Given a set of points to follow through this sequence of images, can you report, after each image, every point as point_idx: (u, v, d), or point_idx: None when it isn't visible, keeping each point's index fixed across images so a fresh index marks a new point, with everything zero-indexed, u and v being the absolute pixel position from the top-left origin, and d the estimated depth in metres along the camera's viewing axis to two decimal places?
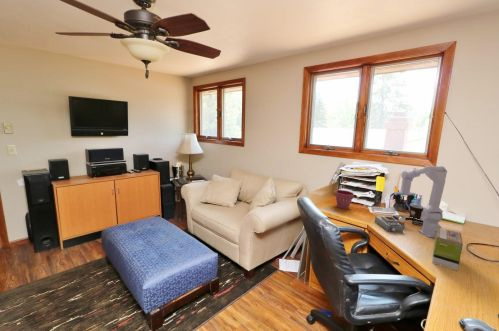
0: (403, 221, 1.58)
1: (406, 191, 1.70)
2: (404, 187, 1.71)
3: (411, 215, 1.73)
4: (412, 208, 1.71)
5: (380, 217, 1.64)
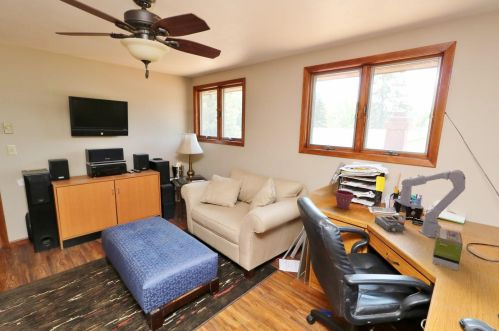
0: (403, 221, 1.58)
1: (400, 199, 1.57)
2: (400, 195, 1.58)
3: (411, 215, 1.73)
4: None
5: (380, 217, 1.64)
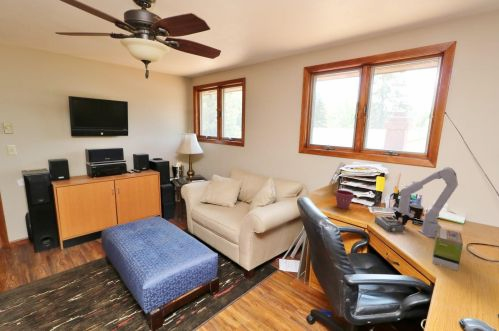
0: None
1: (399, 208, 1.58)
2: (399, 203, 1.59)
3: None
4: (412, 208, 1.71)
5: (380, 217, 1.64)
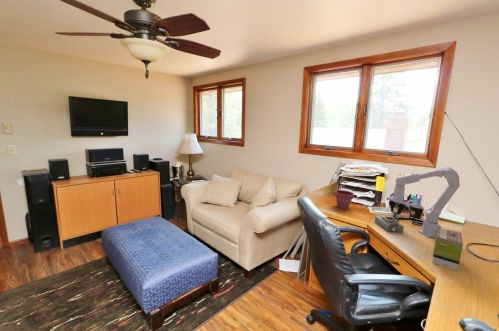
0: None
1: (394, 197, 1.56)
2: (394, 193, 1.57)
3: (411, 215, 1.73)
4: (412, 208, 1.71)
5: (380, 217, 1.64)
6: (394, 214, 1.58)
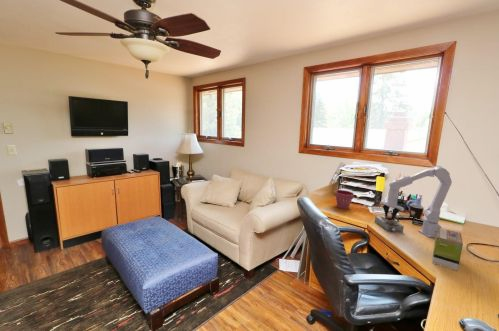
0: None
1: (389, 202, 1.56)
2: (388, 197, 1.57)
3: (411, 215, 1.73)
4: (412, 208, 1.71)
5: (380, 217, 1.64)
6: (388, 219, 1.58)
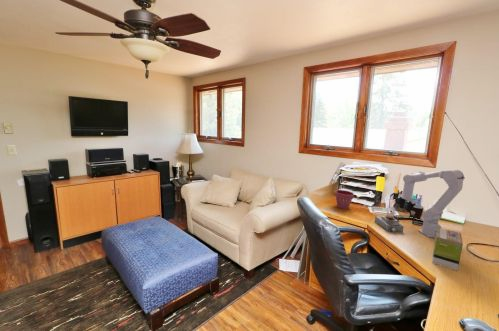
0: (392, 216, 1.56)
1: (402, 194, 1.62)
2: None
3: (411, 215, 1.73)
4: (412, 208, 1.71)
5: (380, 217, 1.64)
6: (388, 219, 1.58)
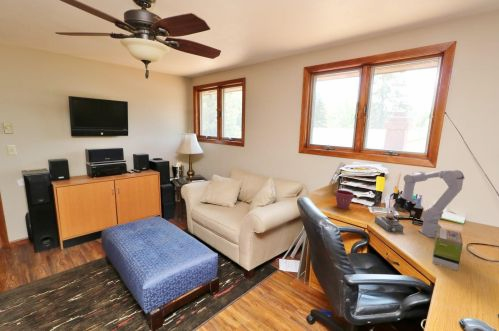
0: (392, 216, 1.56)
1: (403, 194, 1.62)
2: None
3: (411, 215, 1.73)
4: None
5: (380, 217, 1.64)
6: (388, 219, 1.58)
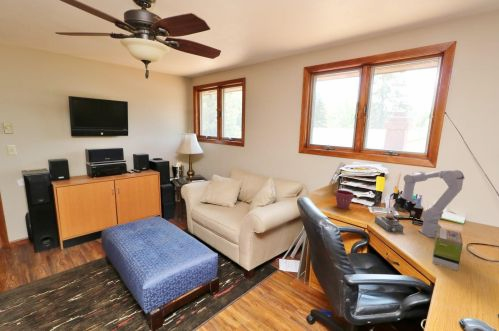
0: (392, 216, 1.56)
1: (403, 194, 1.62)
2: None
3: (411, 215, 1.73)
4: None
5: (380, 217, 1.64)
6: (388, 219, 1.58)
